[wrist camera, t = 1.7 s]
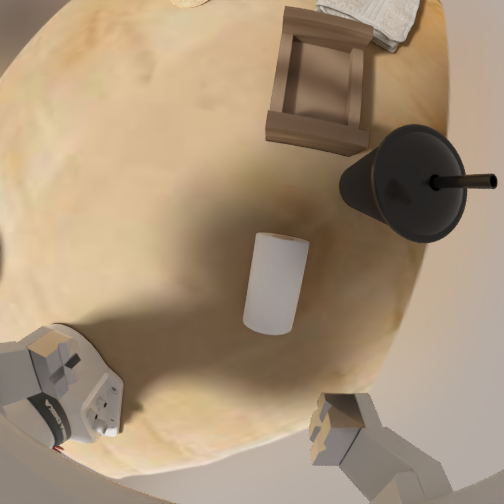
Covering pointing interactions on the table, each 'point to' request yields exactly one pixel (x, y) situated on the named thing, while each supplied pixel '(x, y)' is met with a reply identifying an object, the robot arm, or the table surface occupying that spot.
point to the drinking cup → (412, 184)
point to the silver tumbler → (187, 3)
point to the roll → (275, 283)
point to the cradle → (319, 83)
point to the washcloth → (377, 17)
